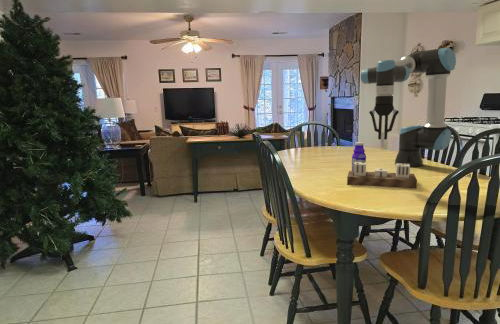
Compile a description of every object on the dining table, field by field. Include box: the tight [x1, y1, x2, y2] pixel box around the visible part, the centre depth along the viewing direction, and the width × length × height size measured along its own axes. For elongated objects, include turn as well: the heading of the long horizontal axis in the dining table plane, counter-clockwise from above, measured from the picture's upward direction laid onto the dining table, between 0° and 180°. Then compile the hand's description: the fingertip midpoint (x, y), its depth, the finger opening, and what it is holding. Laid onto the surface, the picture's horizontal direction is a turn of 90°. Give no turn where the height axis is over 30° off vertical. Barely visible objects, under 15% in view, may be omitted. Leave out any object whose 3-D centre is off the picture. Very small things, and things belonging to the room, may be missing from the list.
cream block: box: [374, 167, 388, 177], centre depth 158 cm, size 5×6×6 cm
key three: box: [395, 163, 411, 178], centre depth 154 cm, size 5×6×6 cm
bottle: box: [351, 141, 367, 171], centre depth 176 cm, size 7×6×17 cm
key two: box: [354, 161, 367, 176], centre depth 161 cm, size 5×6×6 cm
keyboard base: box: [346, 170, 418, 190], centre depth 158 cm, size 30×13×4 cm, turn 70°
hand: (382, 146), depth 155 cm, fingers closed
